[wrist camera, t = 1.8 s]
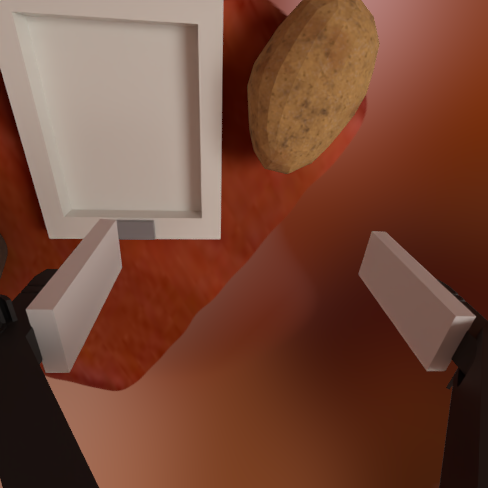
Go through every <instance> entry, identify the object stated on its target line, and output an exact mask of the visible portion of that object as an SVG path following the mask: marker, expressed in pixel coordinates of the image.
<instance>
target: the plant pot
mask: <svg viewBox="0 0 488 488" xmlns="http://www.w3.org/2000/svg"><path fill="white" fill-rule="evenodd" d="M7 251H8V250H7V246H6V243H5V240H4V239H3V237H2V236H1V234H0V278H1V275H2V272H3V269H4V265H5V262H6V258H7Z"/></svg>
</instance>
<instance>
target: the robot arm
mask: <svg viewBox="0 0 488 488" xmlns="http://www.w3.org/2000/svg"><path fill="white" fill-rule="evenodd" d="M121 268H122V263H121V255H120V246H119V238H118V230H117V221H116V220H113V219H99V221H98V222H97V223H96V224H95V226H94V227H93V228H92V229H91V230H90V232H89V233H88V234H87V235H86V236H85V238H84V239H83V240H82V241H81V243H80V244H79V245H78V246H77V247H76V249H75V250H74V251H73V252H72V253H71V255H70V256H69V257H68V258H67V260H66V261H65V262H64V263H63V264H62V266H61V267H60V268H59V269H46V270H45V271H43V272H41V273H40V274H38V275H36V276H35V277H34V278H33V279H32V280H31V281H30V282H29V284H28V286H26V287H25V288H24V289H23V290H22V291H21V293H19V295H18V296H17V297H16V298H15V299H14V300H13V301H12V302H11V299H10V298H9V297H7V296H5V295H0V479H1V483H2V486H3V488H99V487H98V485H97V483H96V481H95V478H94V476H93V474H92V472H91V470H90V468H89V466H88V464H87V462H86V460H85V458H84V456H83V454H82V452H81V450H80V448H79V446H78V443H77V441H76V439H75V437H74V435H73V433H72V431H71V429H70V427H69V425H68V423H67V421H66V419H65V417H64V415H63V412H62V411H61V408H60V406H59V404H58V402H57V400H56V398H55V396H54V394H53V392H52V390H51V388H50V386H49V384H48V382H47V380H46V377H45V375H44V373H43V371H42V369H41V367H40V363H41V362H42V363H43V366H44V369H45V372H46V373H69V372H70V370H71V368H72V366H73V364H74V362H75V360H76V358H77V356H78V354H79V352H80V350H81V348H82V346H83V344H84V342H85V340H86V338H87V336H88V334H89V332H90V330H91V328H92V326H93V324H94V322H95V320H96V318H97V316H98V314H99V312H100V310H101V308H102V306H103V304H104V302H105V300H106V298H107V296H108V294H109V292H110V290H111V288H112V286H113V284H114V282H115V280H116V278H117V276H118V274H119V272H120V270H121ZM359 276H360V277H361V279H362V280H363V281H364V283H365V284H366V286H367V287H368V288H369V290H370V291H371V293H372V294H373V296H374V297H375V298H376V300H377V301H378V303H379V304H380V305H381V307H382V308H383V310H384V311H385V312H386V314H387V315H388V317H389V318H390V320H391V321H392V322H393V324H394V325H395V327H396V328H397V330H398V331H399V332H400V334H401V335H402V336H403V338H404V339H405V341H406V342H407V344H408V345H409V346H410V348H411V349H412V350H413V352H414V354H415V355H416V356H417V358H418V359H419V360H420V362H421V363H422V365H423V366H424V368H425V369H426V371H445V370H446V369H447V367H448V365H449V363H450V362H451V360H453V361H454V363H455V364H456V365H457V366H458V369H457V371H456V372H455V374H454V376H453V377H452V379H451V381H450V382H449V384H448V386H447V387H446V388H448V389H450V388H451V387H452V386H453V387H452V395H451V403H450V410H449V418H448V426H447V433H446V441H445V448H444V456H443V463H442V471H441V478H440V486H439V488H488V321H487V320H486V319H485V318H484V317H483V316H482V315H480V314H479V313H478V312H477V311H476V310H475V309H474V308H473V307H472V306H471V305H469V304H468V303H467V302H465V300H464V299H463V298H462V297H461V296H458V294H457V293H456V292H455V291H454V290H453V289H452V288H451V287H449V286H448V285H446V284H445V283H443V282H441V281H440V280H436V279H435V278H434V277H433V276H432V275H431V274H430V273H429V272H428V271H427V270H426V269H425V268H424V267H422V266H421V265H420V264H419V263H418V262H417V261H416V260H415V259H414V258H413V257H412V256H411V255H410V254H409V253H407V252H406V251H405V250H404V249H403V248H402V247H401V246H400V245H399V244H398V243H397V242H396V241H395V240H394V239H392V238H391V237H390V236H389V235H388V234H387V233H386V232H375V231H372V233H371V237H370V239H369V242H368V246H367V249H366V252H365V255H364V259H363V262H362V265H361V268H360V271H359Z"/></svg>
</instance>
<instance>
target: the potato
mask: <svg viewBox="0 0 488 488" xmlns="http://www.w3.org/2000/svg"><path fill="white" fill-rule="evenodd" d="M378 47H379V40H378V35H377V31H376V26H375V21H374V17H373V16H372V14H371V13H370V11H369V10H368V9H367V8H366V6H365V5H364V3H363V2H362V1H361V0H303V1H301V2H300V4H299V5H298V6H297V7H296V8H295V9H294V10H293V11H292V12H291V13H290V14H289V15H288V17H287V18H286V19H285V20H284V21H283V22H282V23H281V24H280V25H279V26H278V28H277V29H276V31H275V32H274V34H273V35H272V37H271V38H270V40H269V41H268V43H267V44H266V46H265V47H264V49H263V50H262V52H261V53H260V55H259V57H258V58H257V60H256V61H255V63H254V65H253V68H252V72H251V75H250V79H249V82H248V85H247V92H248V113H249V131H250V135H251V140H252V145H253V150H254V152H255V153H256V155H257V157H258V158H259V160H260V162H261V163H262V165H263V167H264V168H265V169H269V170H273V171H277V172H281V173H285V174H289V173H291V172H293V171H295V170H297V169H299V168H302V167H304V166H306V165H308V164H310V163H312V162H313V161H314V160H315V159H316V158H317V157H318V156H319V155H320V154H321V153H322V152H323V151H324V150H325V149H326V148H327V147H328V146H329V145H330V144H331V143H332V142H333V140H334V139H335V138H336V137H337V136H338V135H339V133H340V132H341V131H342V130H343V128H344V127H345V126H346V125H347V123H348V122H349V121H350V119H351V118H352V117H353V116H354V114H355V112H356V111H357V109H358V107H359V105H360V104H361V102H362V100H363V98H364V97H365V95H366V93H367V90H368V86H369V83H370V80H371V76H372V73H373V69H374V65H375V60H376V56H377V52H378Z"/></svg>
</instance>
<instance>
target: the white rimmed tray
mask: <svg viewBox="0 0 488 488" xmlns="http://www.w3.org/2000/svg"><path fill="white" fill-rule="evenodd" d="M222 68H223V0H0V69H1V73H2V76H3V80H4V83H5V86H6V90H7V93H8V97H9V100H10V104H11V107H12V111H13V114H14V118H15V121H16V125H17V128H18V131H19V135H20V138H21V142H22V145H23V149H24V152H25V156H26V159H27V163H28V166H29V170H30V173H31V176H32V180H33V183H34V187H35V190H36V194H37V197H38V201H39V204H40V208H41V211H42V215H43V218H44V221H45V225H46V228H47V232H48V235H49V239H84V238H85V236H86V235H87V234H88V233H89V232H90V230H91V229H92V228H93V227H94V226H95V224H96V223H97V222H98V221H99V219H113V220H116V221H117V230H118V238H119V239H137V240H155V239H220V238H221V153H222Z"/></svg>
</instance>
